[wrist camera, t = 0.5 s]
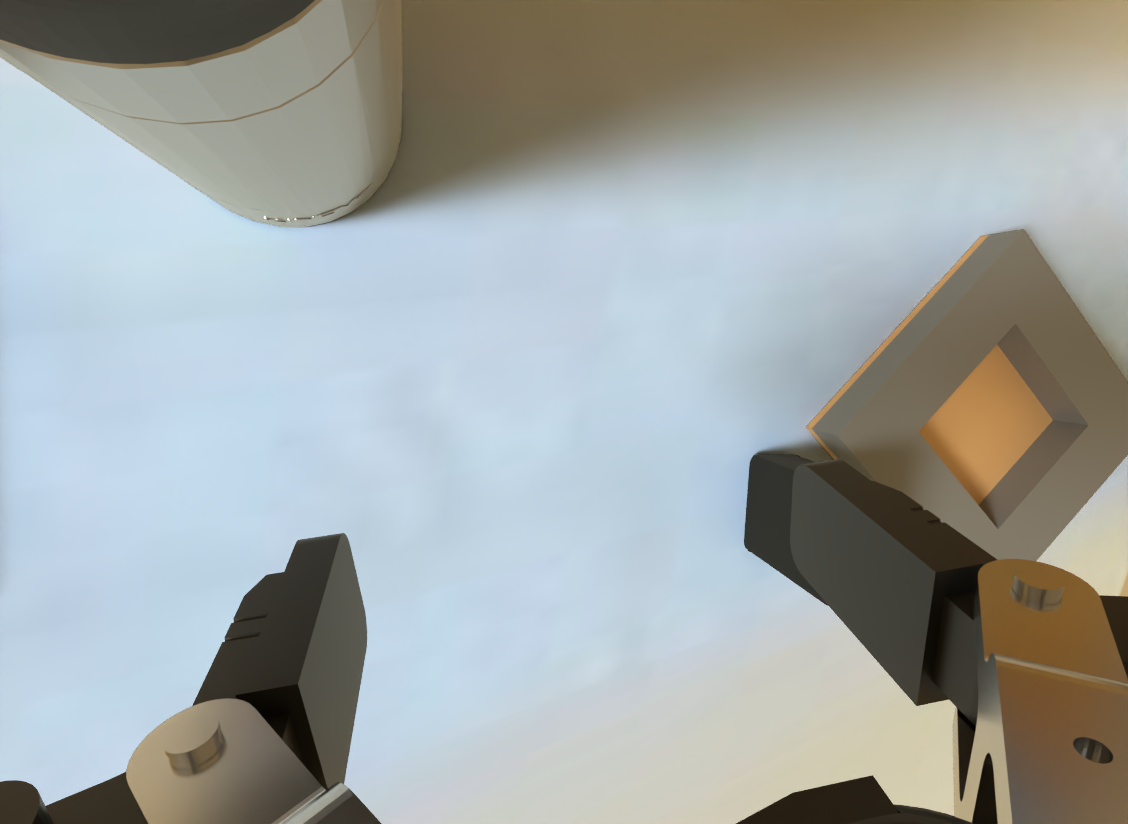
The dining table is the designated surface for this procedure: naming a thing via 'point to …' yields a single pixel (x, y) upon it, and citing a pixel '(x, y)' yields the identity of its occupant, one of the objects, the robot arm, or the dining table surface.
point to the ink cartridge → (773, 514)
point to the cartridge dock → (988, 403)
